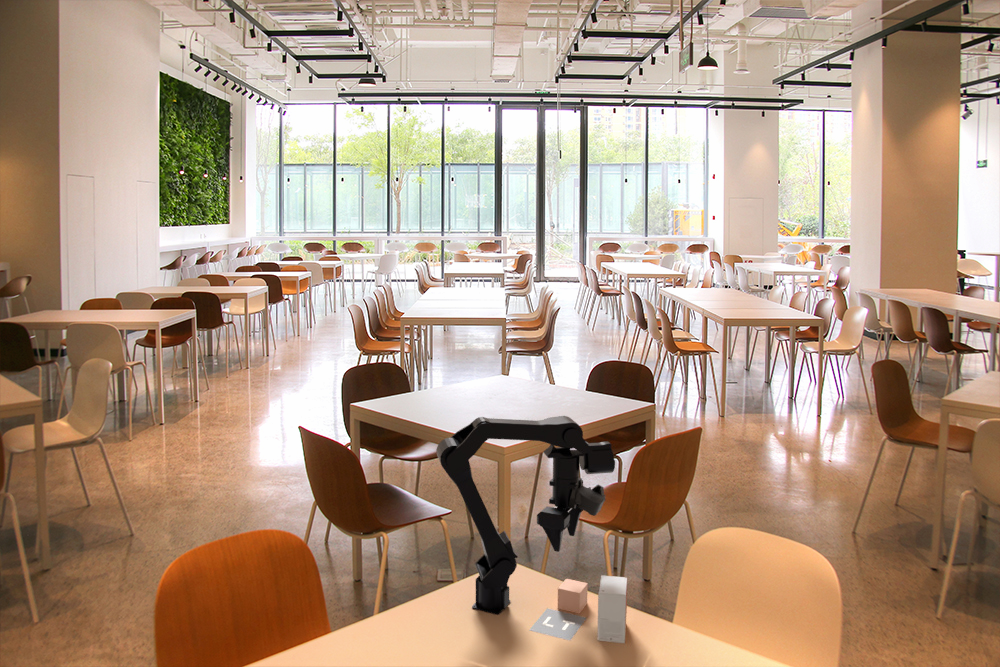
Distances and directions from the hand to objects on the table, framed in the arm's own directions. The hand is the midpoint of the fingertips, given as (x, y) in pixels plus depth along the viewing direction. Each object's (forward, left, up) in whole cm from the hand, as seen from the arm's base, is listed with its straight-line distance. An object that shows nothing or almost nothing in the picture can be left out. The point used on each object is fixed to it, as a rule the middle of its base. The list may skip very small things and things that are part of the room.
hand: (564, 543), depth 170 cm
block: (+3, -3, -13) cm, 14 cm away
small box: (+14, -9, -13) cm, 21 cm away
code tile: (+3, -11, -13) cm, 17 cm away
